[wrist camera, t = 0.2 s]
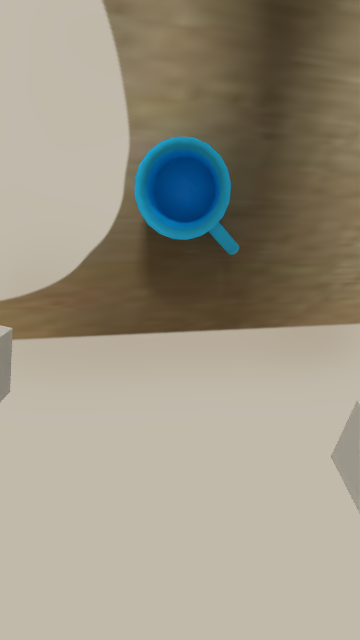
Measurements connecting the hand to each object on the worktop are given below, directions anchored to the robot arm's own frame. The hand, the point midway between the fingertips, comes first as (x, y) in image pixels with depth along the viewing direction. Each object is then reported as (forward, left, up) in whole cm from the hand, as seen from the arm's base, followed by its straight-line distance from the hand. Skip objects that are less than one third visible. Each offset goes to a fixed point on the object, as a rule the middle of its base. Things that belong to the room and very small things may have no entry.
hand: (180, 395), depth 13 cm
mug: (-6, 0, -28) cm, 29 cm away
